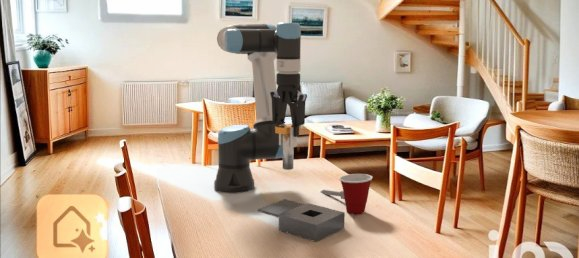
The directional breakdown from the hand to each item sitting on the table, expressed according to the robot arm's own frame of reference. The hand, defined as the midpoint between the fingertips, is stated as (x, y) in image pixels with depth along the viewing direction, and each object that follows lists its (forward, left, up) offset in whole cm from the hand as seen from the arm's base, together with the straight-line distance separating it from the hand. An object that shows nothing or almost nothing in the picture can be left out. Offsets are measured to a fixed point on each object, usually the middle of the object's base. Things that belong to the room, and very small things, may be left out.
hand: (288, 145), depth 177 cm
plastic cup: (+17, +14, -22) cm, 31 cm away
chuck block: (+16, -8, -22) cm, 29 cm away
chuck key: (0, 0, -8) cm, 8 cm away
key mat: (0, +1, -22) cm, 22 cm away
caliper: (+5, +21, -23) cm, 31 cm away
